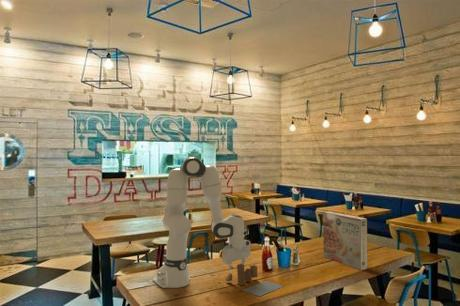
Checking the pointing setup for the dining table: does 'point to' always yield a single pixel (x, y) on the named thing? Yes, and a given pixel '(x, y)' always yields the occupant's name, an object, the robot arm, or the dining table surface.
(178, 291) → the dining table surface
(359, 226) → the pizza box
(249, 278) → the wooden block set
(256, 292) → the mat
